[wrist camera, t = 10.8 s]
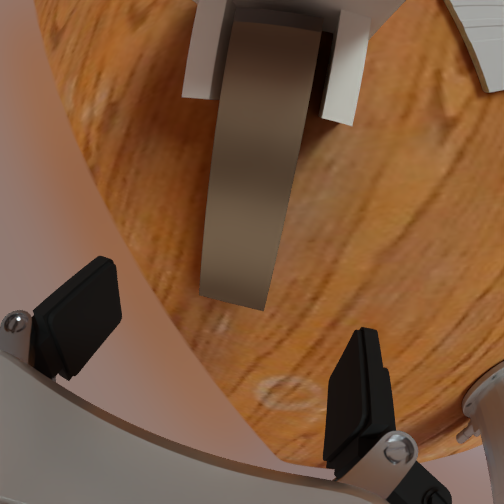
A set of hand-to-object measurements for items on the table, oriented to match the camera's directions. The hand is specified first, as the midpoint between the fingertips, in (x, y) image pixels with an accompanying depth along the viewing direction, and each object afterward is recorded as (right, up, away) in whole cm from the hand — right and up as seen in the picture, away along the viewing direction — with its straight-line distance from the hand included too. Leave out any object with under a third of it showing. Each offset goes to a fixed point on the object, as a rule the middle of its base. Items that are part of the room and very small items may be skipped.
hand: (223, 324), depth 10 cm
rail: (+2, +9, +8) cm, 13 cm away
